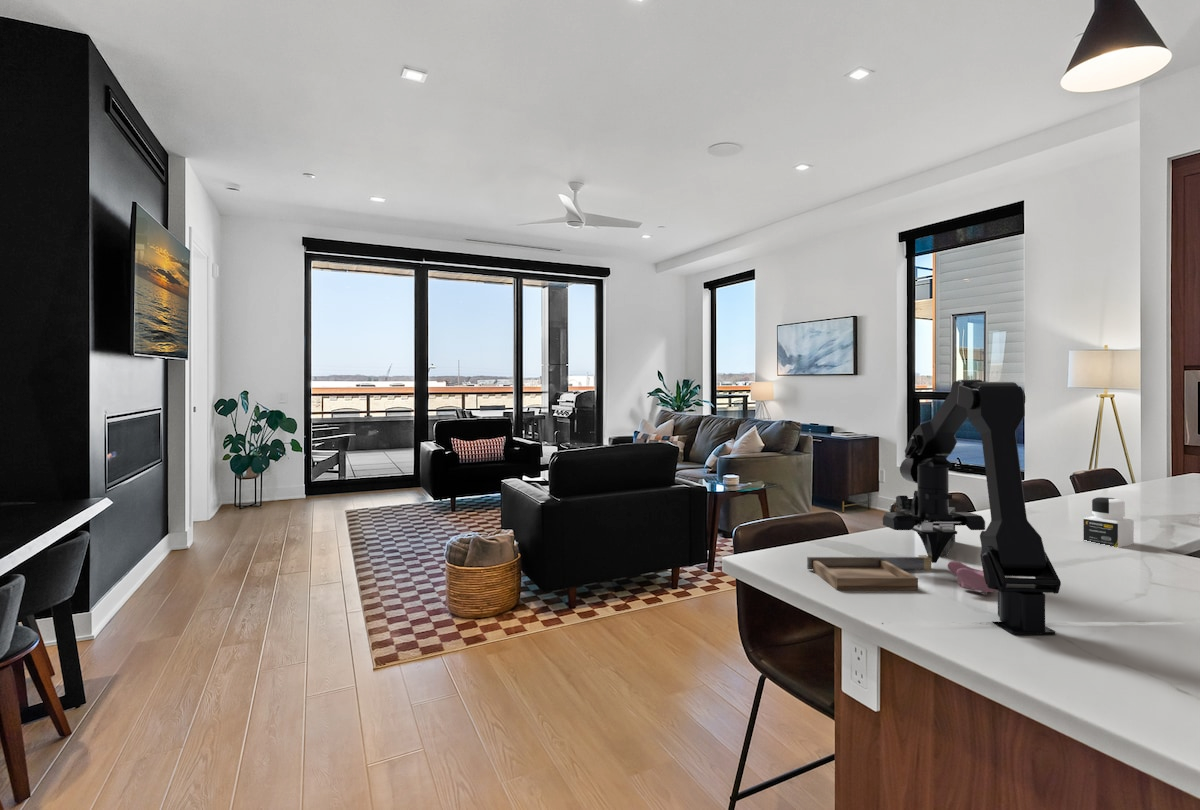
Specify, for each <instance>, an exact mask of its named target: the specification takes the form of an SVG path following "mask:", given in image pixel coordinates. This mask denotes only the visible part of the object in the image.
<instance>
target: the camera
mask: <svg viewBox="0 0 1200 810" xmlns="http://www.w3.org/2000/svg"><path fill="white" fill-rule="evenodd" d="M953 512H956V507H954V506H949V514H952V513H953ZM953 530H954V531H956V525H953ZM954 542H955V543H956V534H954V535H953V536H952V537H951V539H950V540H949V541H948V543H947V544H946V546H945V548H944V549H943V551H942V553H941V555H940V557H943V556H945V558H947V556H948V555H947V554H949V553H950V552H951V549H952V547H953V546H954V545H955V543H954ZM953 544H954V545H953ZM948 552H949V553H948Z"/></svg>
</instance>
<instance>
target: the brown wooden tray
mask: <svg viewBox="0 0 1200 810" xmlns="http://www.w3.org/2000/svg"><path fill="white" fill-rule="evenodd" d="M812 572H813V573H814V574H816V575H817V576H818V577H820V578H821V579H823V580H824V581H825V582H826V583H828V585H829V586H831V587H832V588H834V589H835V590H836V591H919V578H918V577H916V576H914V575H913V574H911V573H909V572H907V571H905V569H900V568H898V567H896V566H895V565H893V564H891V563H889V562H887V561H881V567H826V566H825V565H823V564H822V563H821V562H819V561H813V569H812Z"/></svg>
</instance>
